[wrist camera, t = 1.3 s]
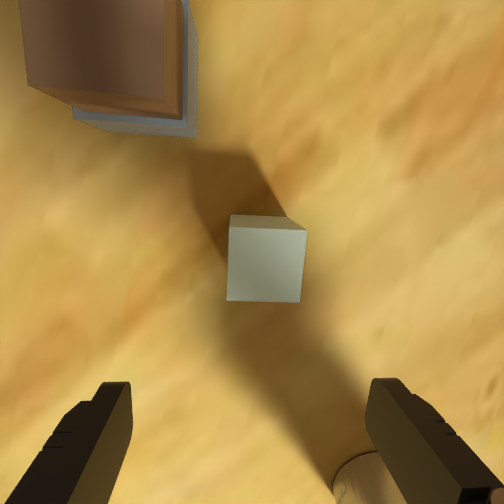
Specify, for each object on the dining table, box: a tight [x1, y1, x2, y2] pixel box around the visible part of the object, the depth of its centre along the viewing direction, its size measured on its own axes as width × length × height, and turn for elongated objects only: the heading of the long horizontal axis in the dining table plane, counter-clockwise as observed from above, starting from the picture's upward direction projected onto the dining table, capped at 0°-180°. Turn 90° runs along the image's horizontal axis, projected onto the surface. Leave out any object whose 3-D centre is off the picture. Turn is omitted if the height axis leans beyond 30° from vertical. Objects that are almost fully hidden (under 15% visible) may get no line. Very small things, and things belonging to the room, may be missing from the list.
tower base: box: [72, 0, 198, 138], centre depth 20 cm, size 7×7×5 cm
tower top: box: [19, 0, 184, 120], centre depth 15 cm, size 6×6×5 cm
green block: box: [227, 214, 307, 303], centre depth 22 cm, size 5×5×7 cm
